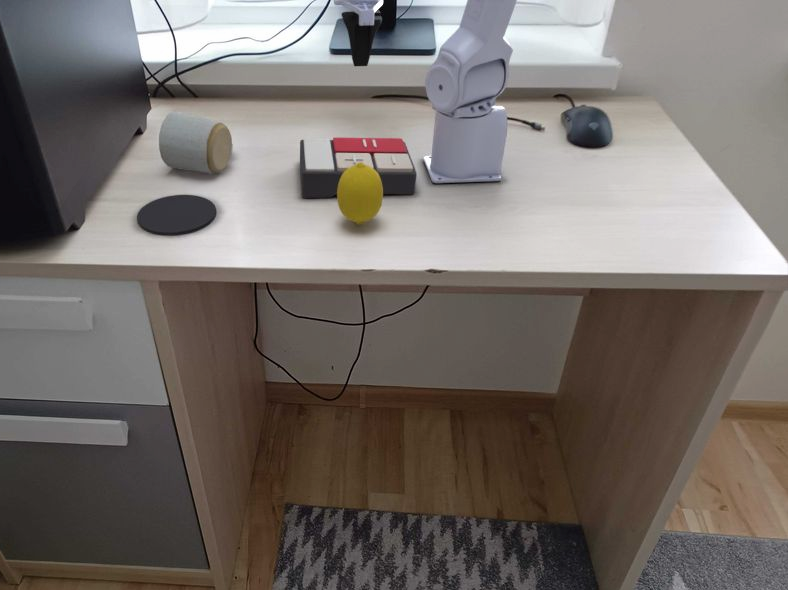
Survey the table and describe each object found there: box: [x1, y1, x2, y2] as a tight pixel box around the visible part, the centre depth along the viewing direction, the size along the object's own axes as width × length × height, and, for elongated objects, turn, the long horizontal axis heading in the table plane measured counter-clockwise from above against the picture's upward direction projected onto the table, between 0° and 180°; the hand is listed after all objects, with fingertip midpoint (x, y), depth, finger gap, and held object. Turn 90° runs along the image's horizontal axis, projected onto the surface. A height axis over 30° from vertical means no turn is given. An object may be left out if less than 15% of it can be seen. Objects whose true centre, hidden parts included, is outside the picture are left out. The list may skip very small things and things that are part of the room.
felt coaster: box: [136, 194, 217, 236], centre depth 83 cm, size 10×10×1 cm
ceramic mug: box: [158, 110, 234, 174], centre depth 92 cm, size 11×8×8 cm
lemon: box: [336, 162, 384, 226], centre depth 78 cm, size 6×6×8 cm
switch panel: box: [299, 137, 418, 199], centre depth 89 cm, size 11×4×15 cm
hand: (360, 64), depth 99 cm, fingers closed
